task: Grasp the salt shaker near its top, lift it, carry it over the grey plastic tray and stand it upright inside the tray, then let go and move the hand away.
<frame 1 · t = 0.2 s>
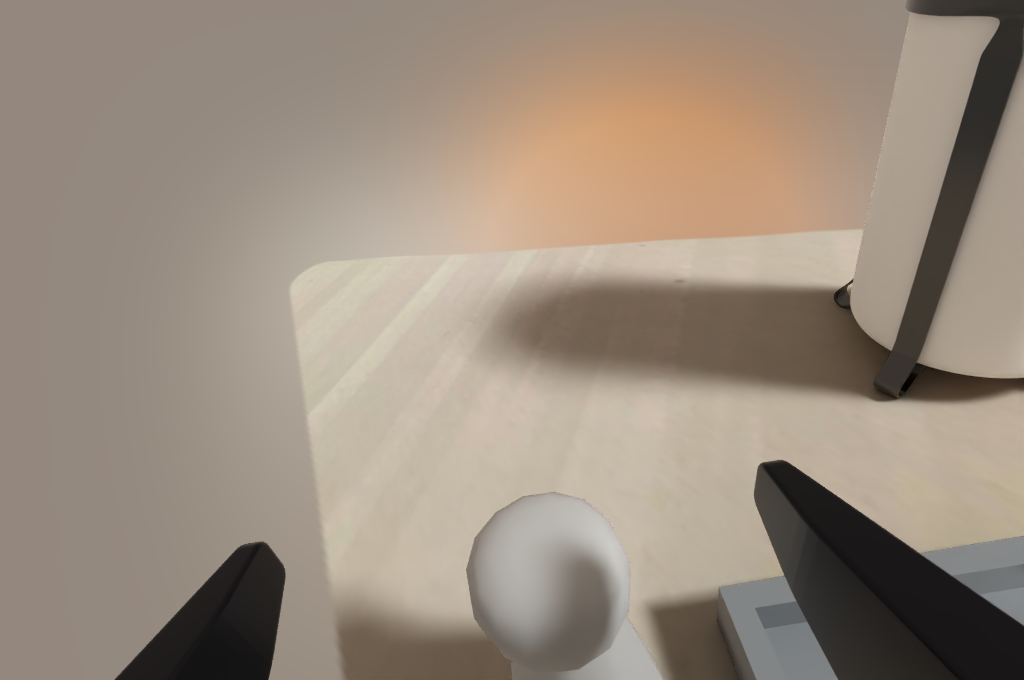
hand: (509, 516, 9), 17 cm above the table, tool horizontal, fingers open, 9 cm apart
coffee press: (974, 339, 32), on the table
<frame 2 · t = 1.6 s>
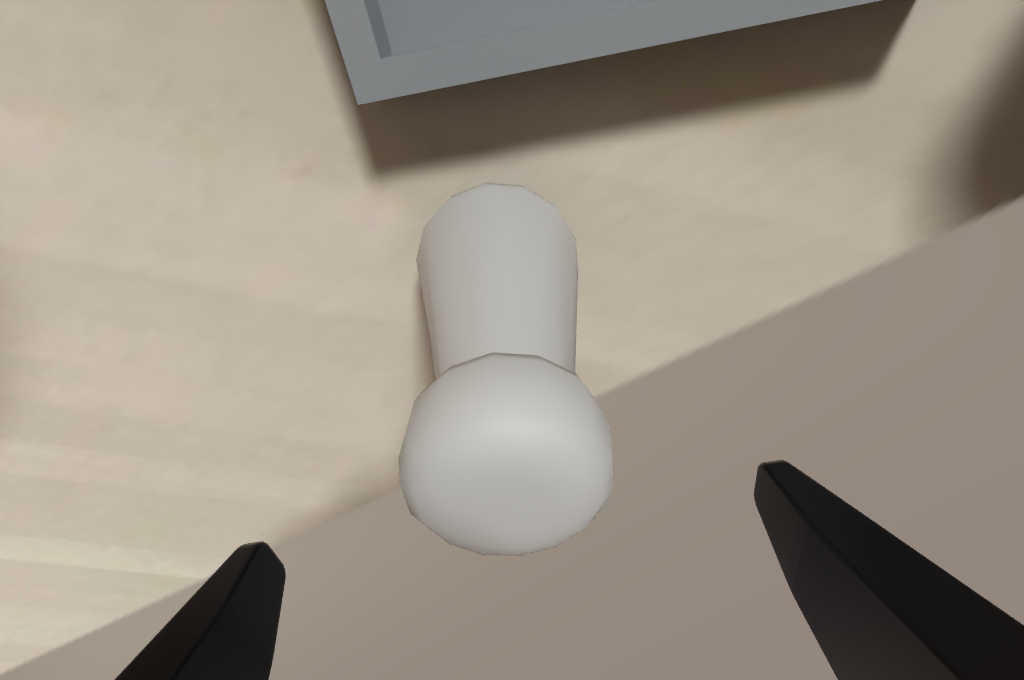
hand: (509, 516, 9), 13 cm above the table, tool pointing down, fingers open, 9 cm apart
salt shaker: (497, 238, 20), on the table
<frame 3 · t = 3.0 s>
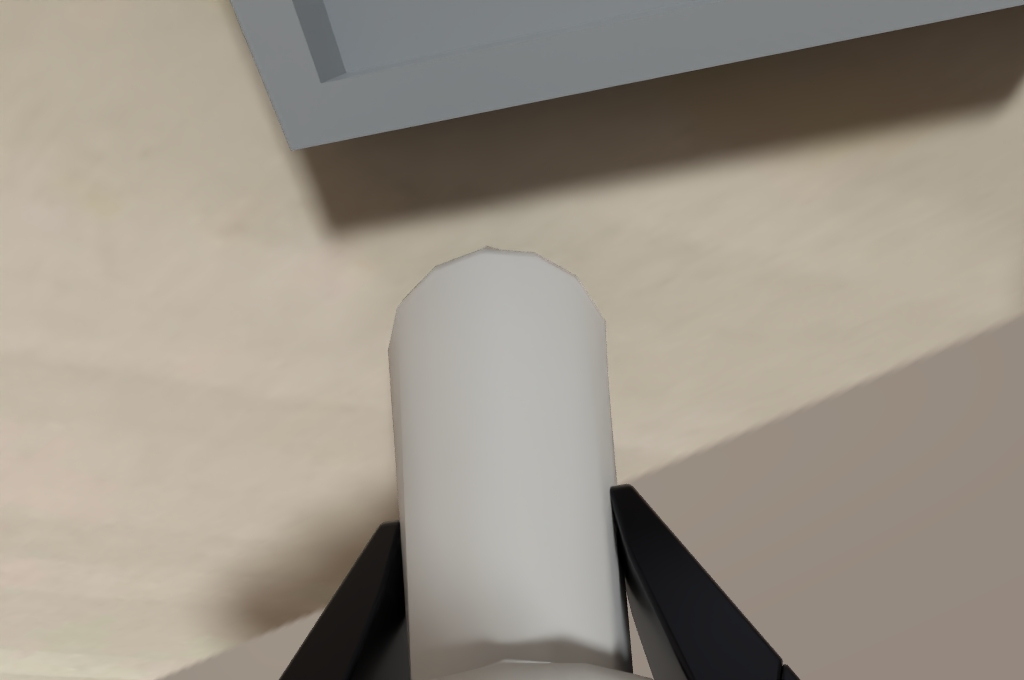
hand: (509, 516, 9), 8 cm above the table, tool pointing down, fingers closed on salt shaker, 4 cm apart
salt shaker: (497, 306, 15), on the table, touching gripper
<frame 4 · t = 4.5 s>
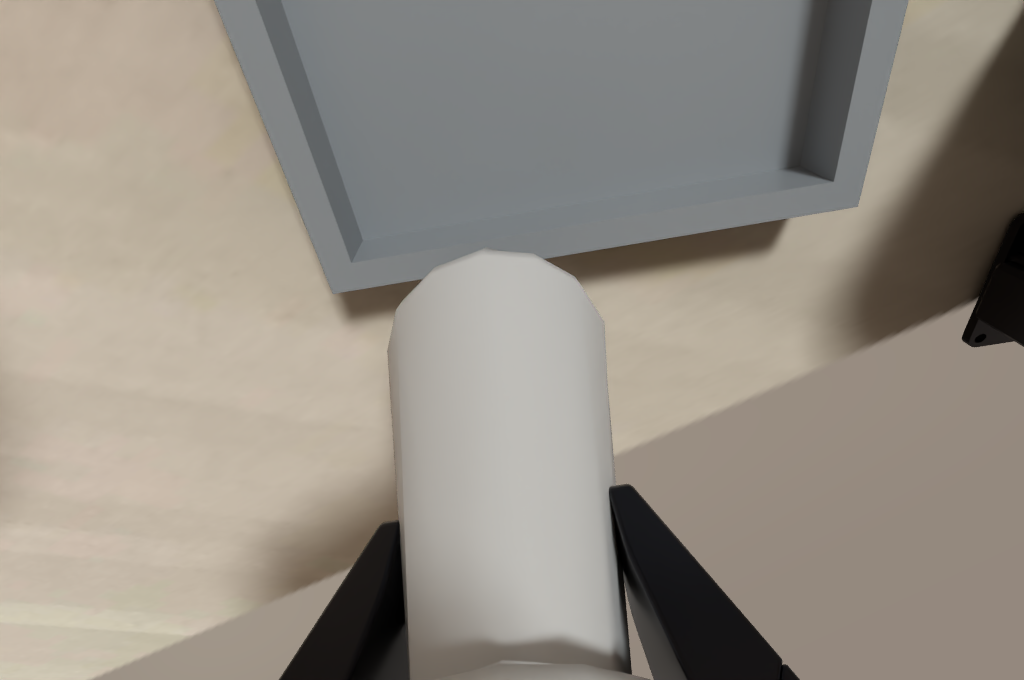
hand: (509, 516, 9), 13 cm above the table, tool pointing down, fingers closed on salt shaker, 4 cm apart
salt shaker: (496, 307, 15), point 5 cm above the table, touching gripper
when the fingers open (9 cm above the table, at t = 6.2 s): salt shaker stays where it is, resting on tray.
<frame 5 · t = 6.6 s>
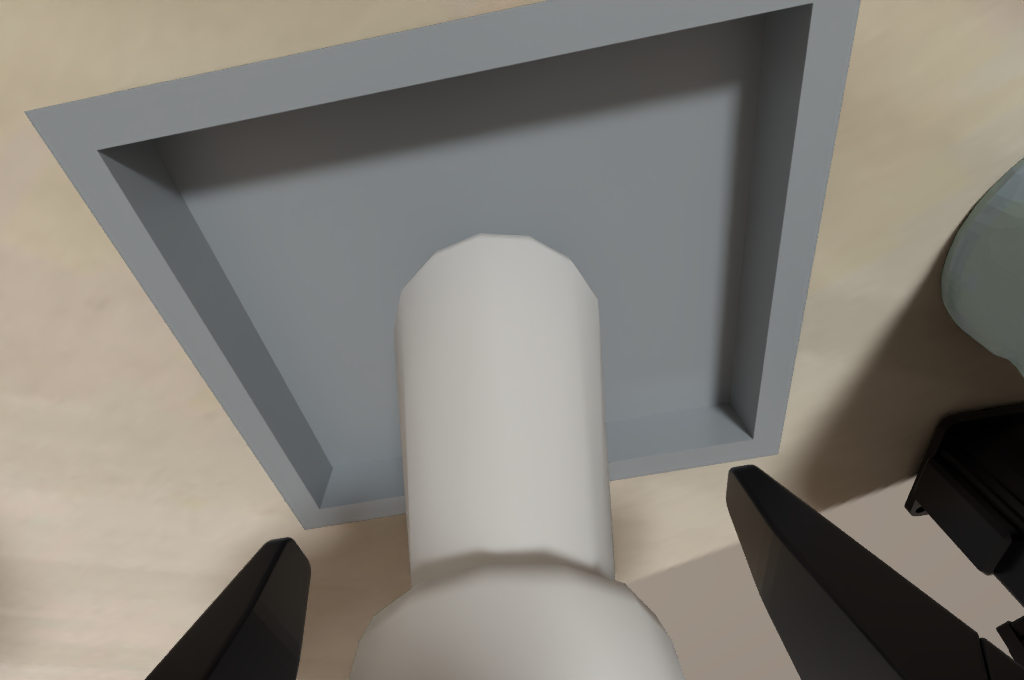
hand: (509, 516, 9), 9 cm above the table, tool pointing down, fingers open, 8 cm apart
tray: (495, 280, 17), on the table
salt shaker: (497, 293, 16), point 1 cm above the table, touching tray
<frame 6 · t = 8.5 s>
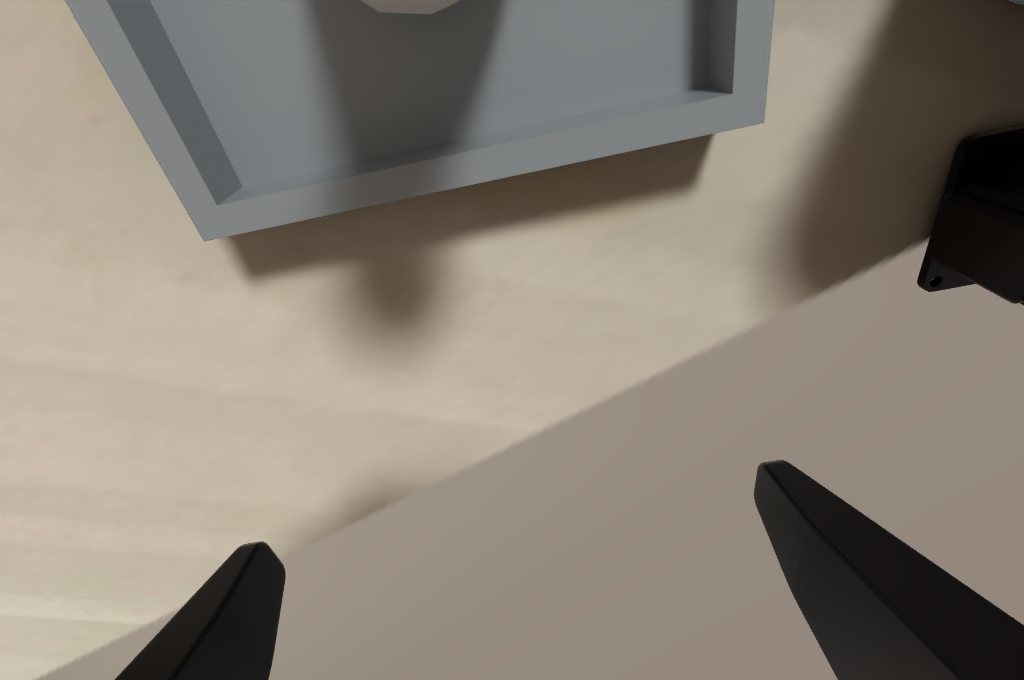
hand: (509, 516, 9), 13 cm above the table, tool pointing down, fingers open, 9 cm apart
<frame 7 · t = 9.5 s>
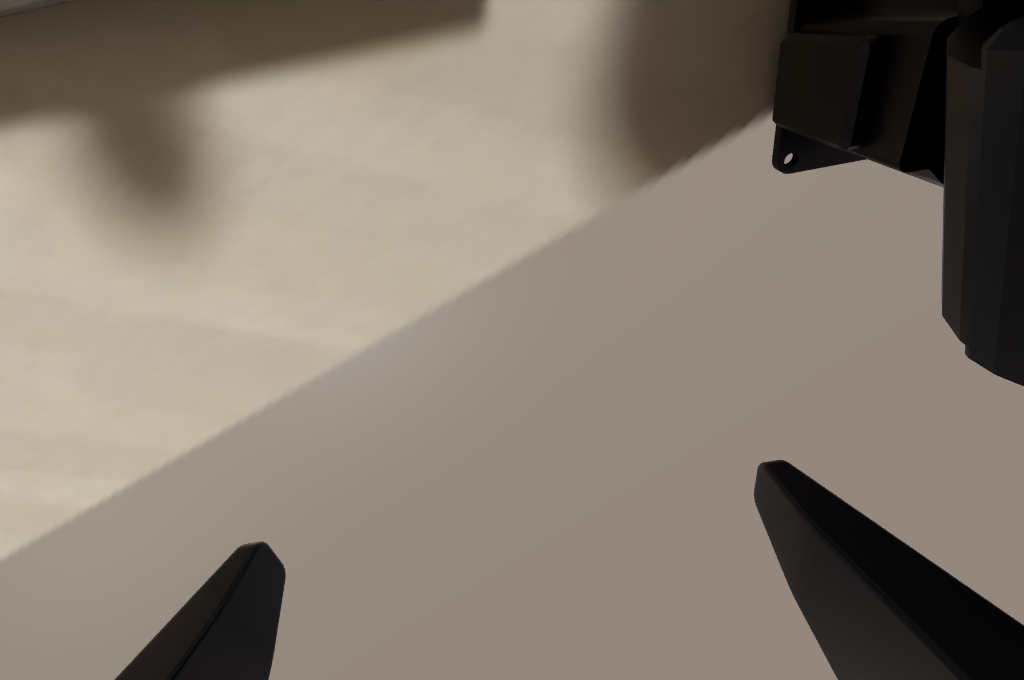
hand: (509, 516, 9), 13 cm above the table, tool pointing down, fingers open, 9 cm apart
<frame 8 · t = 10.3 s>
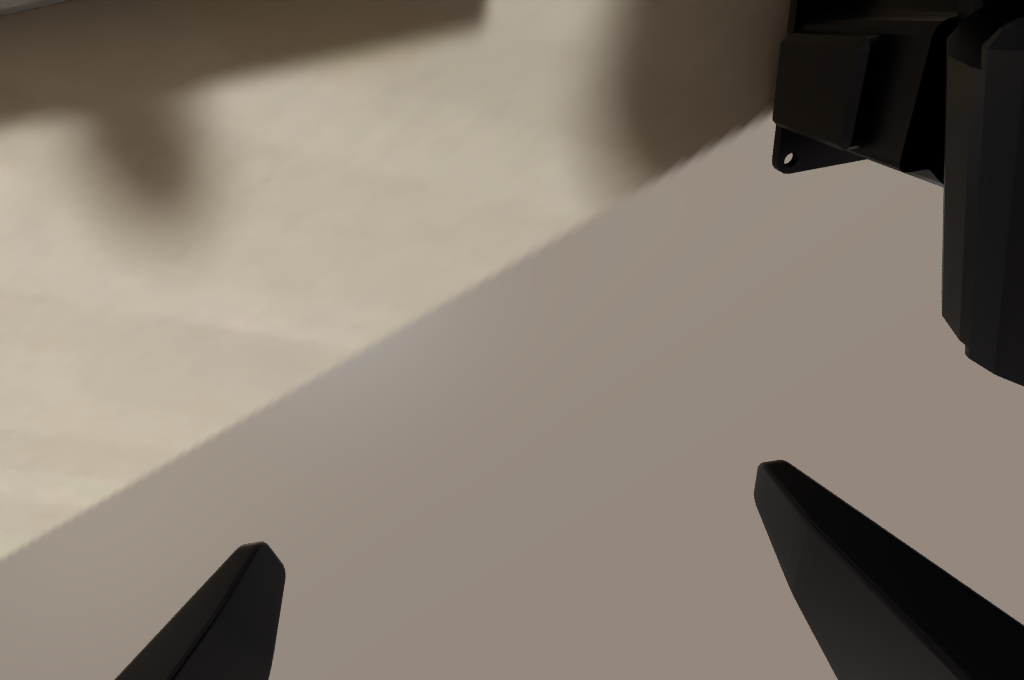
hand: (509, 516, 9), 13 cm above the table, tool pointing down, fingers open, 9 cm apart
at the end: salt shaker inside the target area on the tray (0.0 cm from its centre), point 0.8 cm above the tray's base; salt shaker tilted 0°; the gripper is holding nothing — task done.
